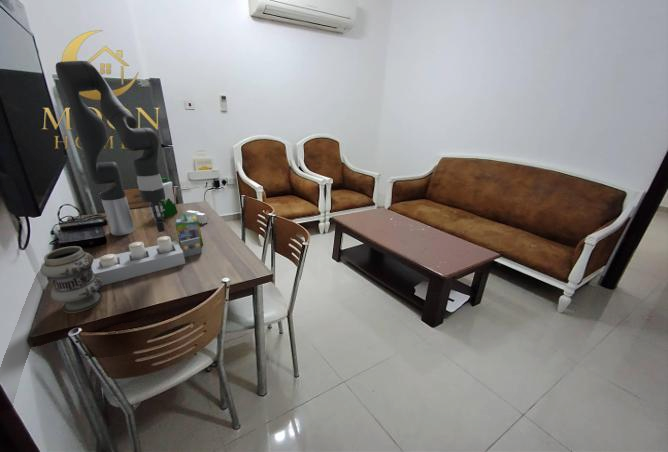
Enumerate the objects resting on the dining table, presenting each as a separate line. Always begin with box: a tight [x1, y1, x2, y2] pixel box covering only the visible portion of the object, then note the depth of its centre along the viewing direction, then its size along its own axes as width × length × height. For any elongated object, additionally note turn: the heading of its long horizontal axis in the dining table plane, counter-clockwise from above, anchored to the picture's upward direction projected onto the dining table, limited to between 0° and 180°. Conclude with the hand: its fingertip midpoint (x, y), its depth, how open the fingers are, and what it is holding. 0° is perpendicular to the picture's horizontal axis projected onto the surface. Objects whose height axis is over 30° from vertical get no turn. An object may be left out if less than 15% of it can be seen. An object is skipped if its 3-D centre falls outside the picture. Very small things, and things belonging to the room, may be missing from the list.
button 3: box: [156, 235, 173, 253], centre depth 113 cm, size 5×5×5 cm
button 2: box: [128, 241, 146, 259], centre depth 108 cm, size 5×5×5 cm
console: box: [91, 240, 186, 286], centre depth 110 cm, size 12×28×5 cm, turn 126°
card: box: [180, 237, 203, 258], centre depth 119 cm, size 1×7×7 cm, turn 126°
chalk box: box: [174, 211, 204, 249], centre depth 128 cm, size 9×9×15 cm
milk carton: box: [159, 177, 178, 218], centre depth 157 cm, size 9×9×20 cm
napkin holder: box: [185, 209, 208, 225], centre depth 152 cm, size 15×11×6 cm
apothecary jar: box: [40, 245, 104, 314], centre depth 88 cm, size 12×12×18 cm
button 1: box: [99, 253, 118, 268], centre depth 104 cm, size 5×5×5 cm
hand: (161, 231), depth 110 cm, fingers closed
